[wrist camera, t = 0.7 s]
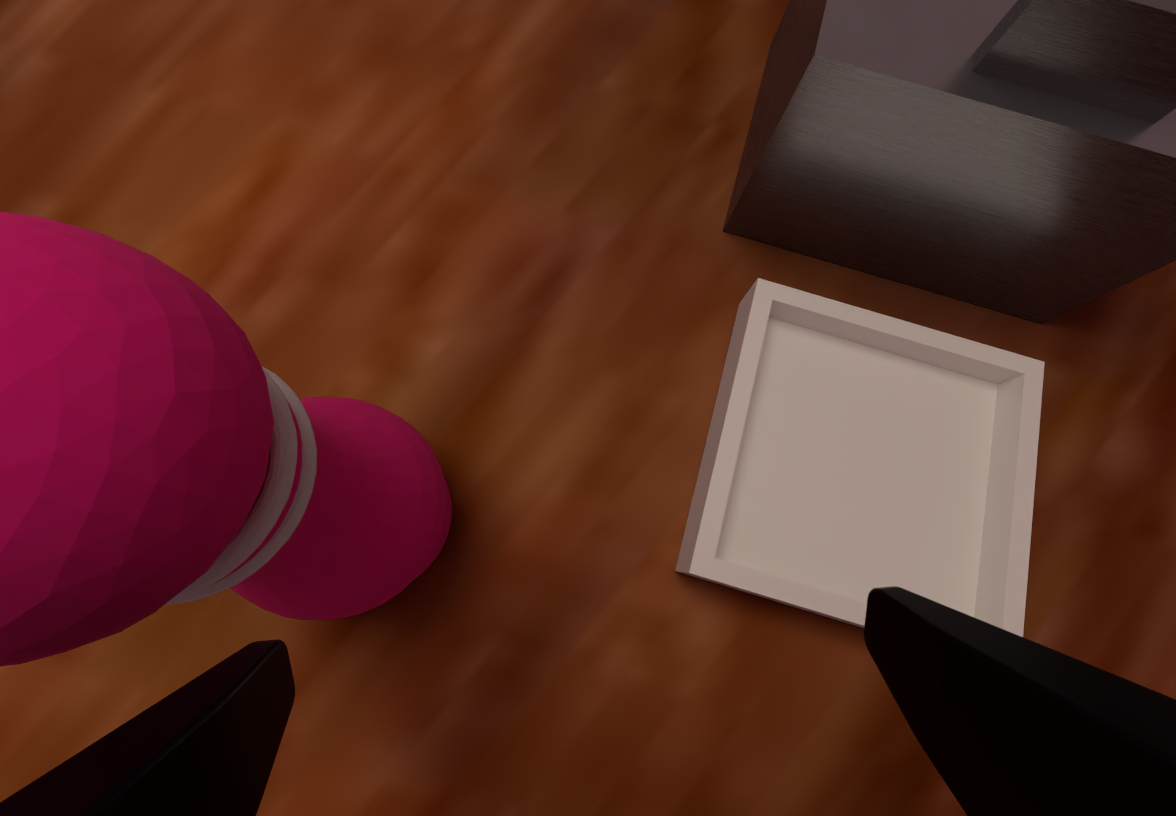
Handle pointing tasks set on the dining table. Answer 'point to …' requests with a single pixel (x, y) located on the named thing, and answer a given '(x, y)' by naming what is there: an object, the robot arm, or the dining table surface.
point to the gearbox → (969, 145)
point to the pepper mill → (179, 458)
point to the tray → (866, 463)
